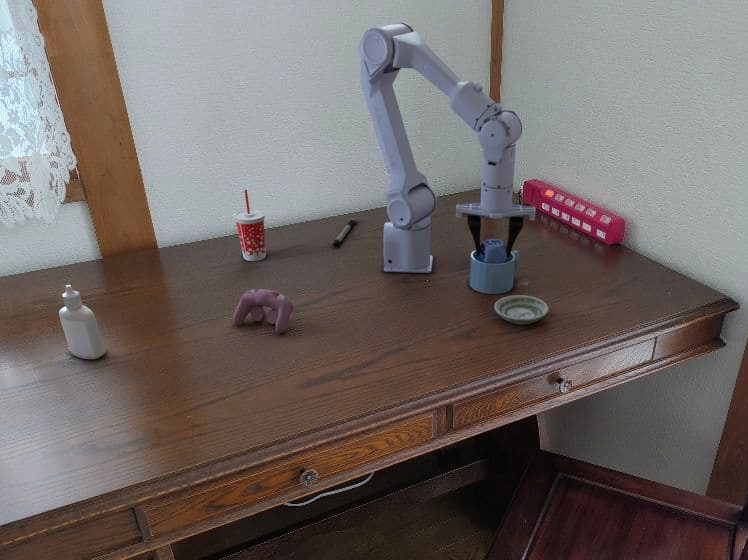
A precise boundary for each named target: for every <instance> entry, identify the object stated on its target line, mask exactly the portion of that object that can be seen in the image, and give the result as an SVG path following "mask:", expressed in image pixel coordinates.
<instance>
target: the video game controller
mask: <svg viewBox="0 0 748 560" xmlns="http://www.w3.org/2000/svg"><path fill="white" fill-rule="evenodd" d="M264 307H266V308H269V309H270V310H269V312H267V313H266V310H265V308H264ZM293 310H294V303H293V301H292V300H291V298H289V297H287V296H285V295H284V294H282V293H281V292H278V291H276V290H273V289H267V288H257V289H253V288H252V289H250V290H246V291H245V293H243V294H242V296H241V297H240V300H239V301H238V304H237V306H236V308H235V311H234V313H233V318H232V321H233V324H234V325H235V326H240V325H241V324H242V323H243V322H244V321H245V320H246V318H247V317H248V315H249V313H250V315H251V319H253V321H255V322H262V321H264V320H265V318H267V322H268V323H270V325H271V324H272V325H275V331H276V333H277V334H279V335H281V334H282V333H284V331H285V330H286V329H287V327H288V325H289V322H290V318H291V314H292V312H293Z"/></svg>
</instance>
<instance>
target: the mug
mask: <svg viewBox="0 0 748 560" xmlns="http://www.w3.org/2000/svg"><path fill="white" fill-rule="evenodd" d="M519 253H520V252H519V250H517V249H515V250H511V253H510V257H506V260H505V262H504V263H501V264H488V263H483V262H482V261H481V257H480V256H476V249H474V250H472V252H470V256H469V257H470V258H469V259H470V260H469V286H470V287H471V289H472V290H474V291H476V292H478V293H481V294H487V295H500V294H504V293H507V292H509V291H511V290H512V289H513V287H514V283H515V282H514V281H515V272H516V271H518V265H519Z"/></svg>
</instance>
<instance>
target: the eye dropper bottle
mask: <svg viewBox="0 0 748 560" xmlns="http://www.w3.org/2000/svg"><path fill="white" fill-rule="evenodd" d="M61 297H62V300H63V304H64V306H63V307H62V308H60V310H59V311H58V316H59V320H60V323H61V327H62V329H63V333H64V336H65V339H66V343H67V345H68V349H69V352H70V354H72V355H73V356H74V357H75V358H76V357H77V358H80V359H84V360H96V359H99V358H100V357H102V356H104V355H105V354H106V350H105V346H104V343H103V339H102V336H101V332H100V328H99V325H98V321H97V319H96V316H95V313H94V311H92V310H91V309H90V308H89V307H87V306H86V305H83V300H82V298H81V293H80V292H79V291H77V290H74V288H73V286H72V285H71V284H66V285H65V292H64V293H62V295H61Z"/></svg>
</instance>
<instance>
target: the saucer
mask: <svg viewBox="0 0 748 560" xmlns="http://www.w3.org/2000/svg"><path fill="white" fill-rule="evenodd" d="M493 307H494V310H495V312H496V313H497V315H498V316H500V317H501V318H502V319H503V320H505V321H508V322H509V323H512V324H514V325H520V326H522V325H523V326H524V325H530V324H532V323H535V322H537V321H539V320H541V319H543V318H545V317H546V316H547V314H548V313H549V309H550V308H549V306H548V304H547V302H545V301H544V300H542V299H540V298H538V297H535V296H531V295H526V294H525V295H523V294H516V295H515V294H514V295H508V296H504V297H502V298H499V299H498V300H497V301H496V302H495V303H494V305H493Z"/></svg>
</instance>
